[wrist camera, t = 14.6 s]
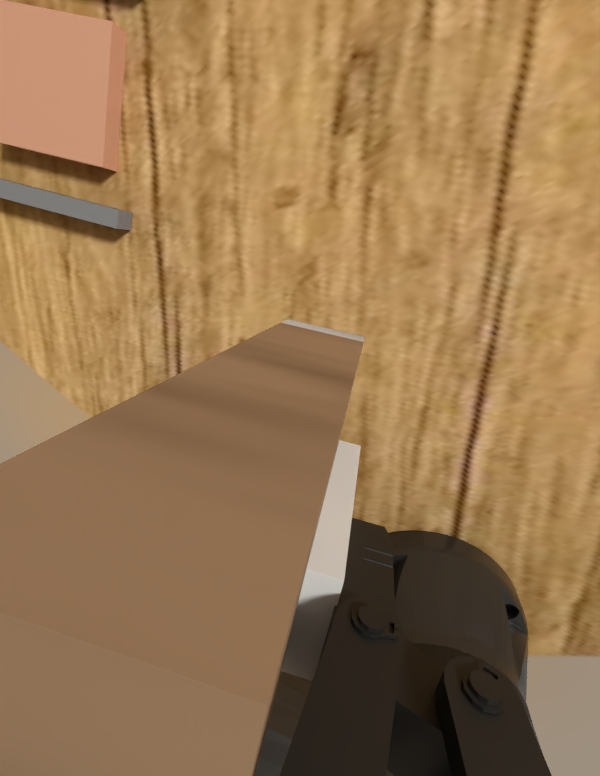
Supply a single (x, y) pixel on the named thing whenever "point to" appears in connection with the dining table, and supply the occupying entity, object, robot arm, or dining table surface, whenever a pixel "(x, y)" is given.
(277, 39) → the dining table surface
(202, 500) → the walnut block
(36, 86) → the terracotta tile
